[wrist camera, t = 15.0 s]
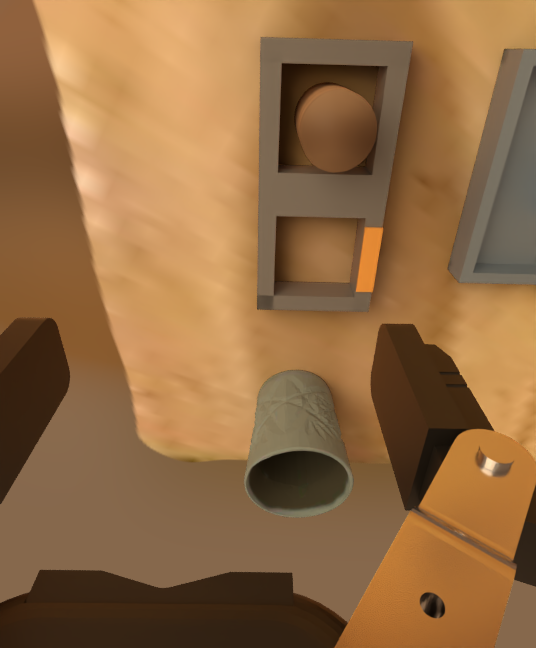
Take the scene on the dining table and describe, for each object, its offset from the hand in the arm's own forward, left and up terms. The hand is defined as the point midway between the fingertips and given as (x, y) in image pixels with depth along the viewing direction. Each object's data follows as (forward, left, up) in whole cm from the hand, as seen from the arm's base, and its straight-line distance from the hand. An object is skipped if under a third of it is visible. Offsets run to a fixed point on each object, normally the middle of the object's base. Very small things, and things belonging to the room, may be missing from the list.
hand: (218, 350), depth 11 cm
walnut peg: (-2, +6, -30) cm, 31 cm away
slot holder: (+4, +6, -30) cm, 31 cm away
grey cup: (+28, +5, -30) cm, 41 cm away
